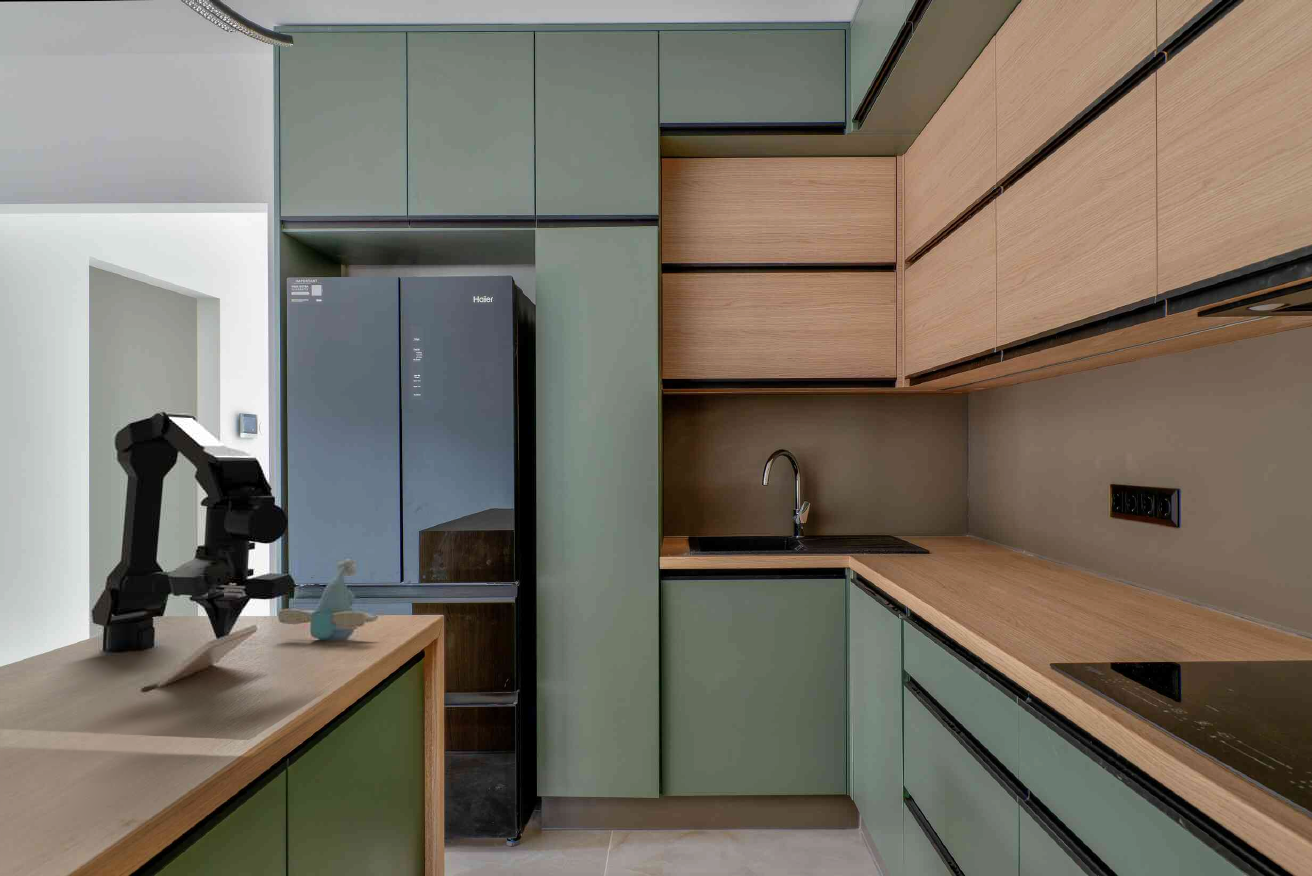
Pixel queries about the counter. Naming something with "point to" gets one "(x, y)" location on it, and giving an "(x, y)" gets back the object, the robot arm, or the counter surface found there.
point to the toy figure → (331, 610)
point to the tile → (207, 655)
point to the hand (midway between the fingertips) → (221, 641)
